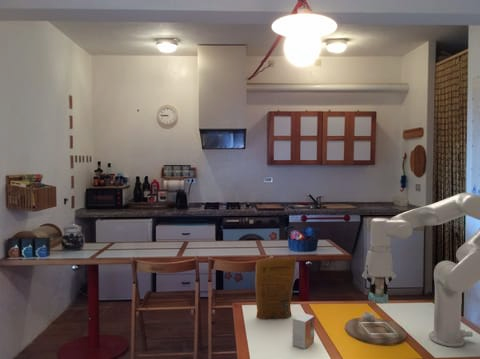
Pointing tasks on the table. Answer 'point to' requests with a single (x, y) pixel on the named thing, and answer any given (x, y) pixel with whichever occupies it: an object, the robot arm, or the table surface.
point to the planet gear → (379, 291)
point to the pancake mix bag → (274, 287)
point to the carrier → (375, 330)
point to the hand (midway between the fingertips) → (378, 292)
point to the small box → (303, 330)
